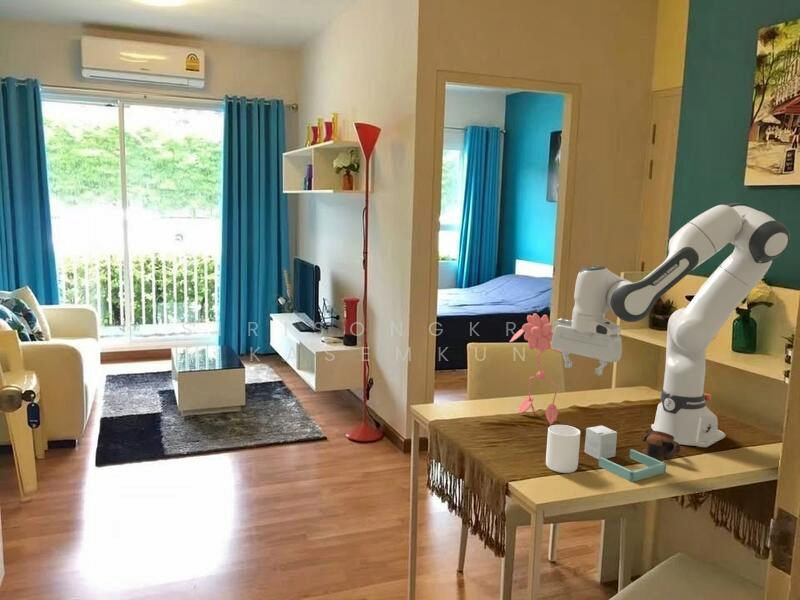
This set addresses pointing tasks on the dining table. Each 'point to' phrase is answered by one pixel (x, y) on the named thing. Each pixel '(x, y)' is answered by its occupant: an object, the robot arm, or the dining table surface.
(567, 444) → the mug
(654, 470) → the u-shaped bracket
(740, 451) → the dining table surface
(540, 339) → the pink flower stem
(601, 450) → the skincare box
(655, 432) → the pottery mug
